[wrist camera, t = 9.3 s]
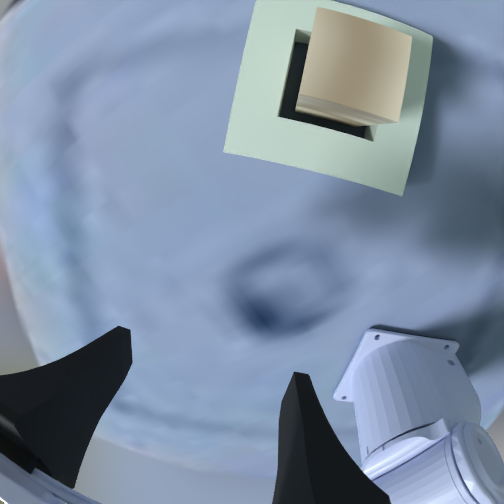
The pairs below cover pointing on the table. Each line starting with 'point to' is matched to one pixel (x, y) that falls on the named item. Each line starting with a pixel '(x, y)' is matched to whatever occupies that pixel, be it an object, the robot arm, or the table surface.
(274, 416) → the table surface
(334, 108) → the peg
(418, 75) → the socket block
